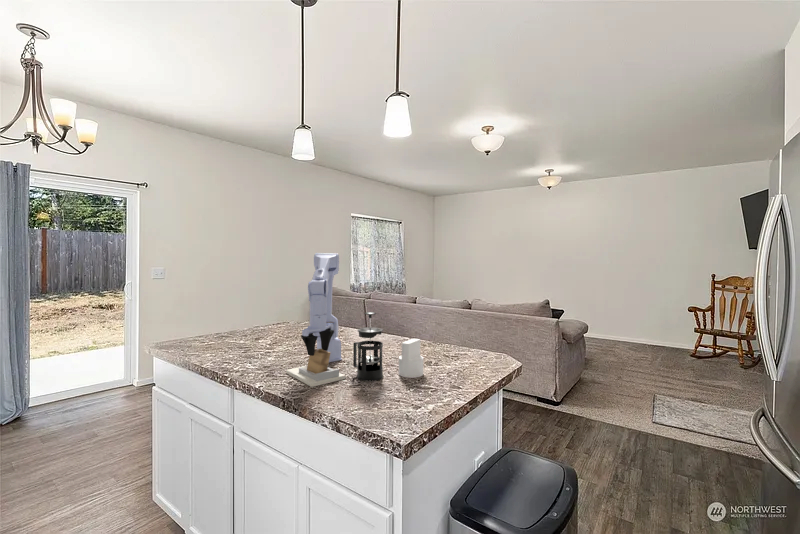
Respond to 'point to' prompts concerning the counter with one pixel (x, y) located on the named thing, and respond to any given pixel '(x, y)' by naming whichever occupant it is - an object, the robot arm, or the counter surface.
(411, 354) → the cylinder with rectangular tab
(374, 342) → the french press
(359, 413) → the counter surface
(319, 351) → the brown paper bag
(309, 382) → the shallow rectangular tray
